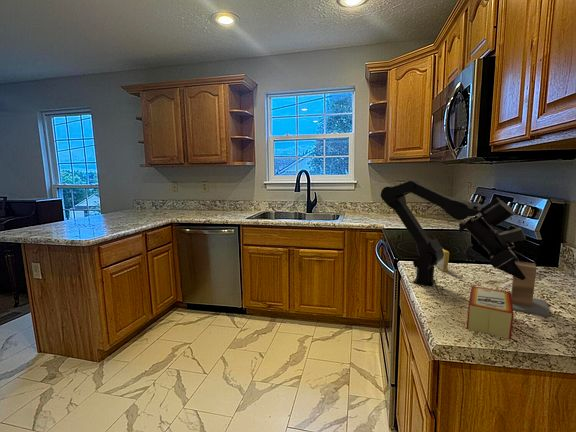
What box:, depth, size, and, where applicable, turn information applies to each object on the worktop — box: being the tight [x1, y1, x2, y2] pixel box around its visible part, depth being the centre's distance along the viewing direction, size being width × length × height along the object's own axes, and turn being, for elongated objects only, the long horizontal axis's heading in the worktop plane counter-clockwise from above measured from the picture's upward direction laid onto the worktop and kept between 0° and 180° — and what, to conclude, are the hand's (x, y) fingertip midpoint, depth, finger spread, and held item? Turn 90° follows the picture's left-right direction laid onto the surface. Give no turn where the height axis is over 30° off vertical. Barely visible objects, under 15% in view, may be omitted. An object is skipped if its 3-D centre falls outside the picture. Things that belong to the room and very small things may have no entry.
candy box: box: [434, 249, 450, 273], centre depth 134 cm, size 16×2×8 cm, turn 179°
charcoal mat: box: [512, 297, 551, 318], centre depth 97 cm, size 12×14×1 cm
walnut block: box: [511, 260, 537, 307], centre depth 96 cm, size 5×5×12 cm
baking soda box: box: [466, 285, 515, 340], centre depth 86 cm, size 10×6×16 cm
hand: (523, 274), depth 95 cm, fingers open, 9 cm apart
